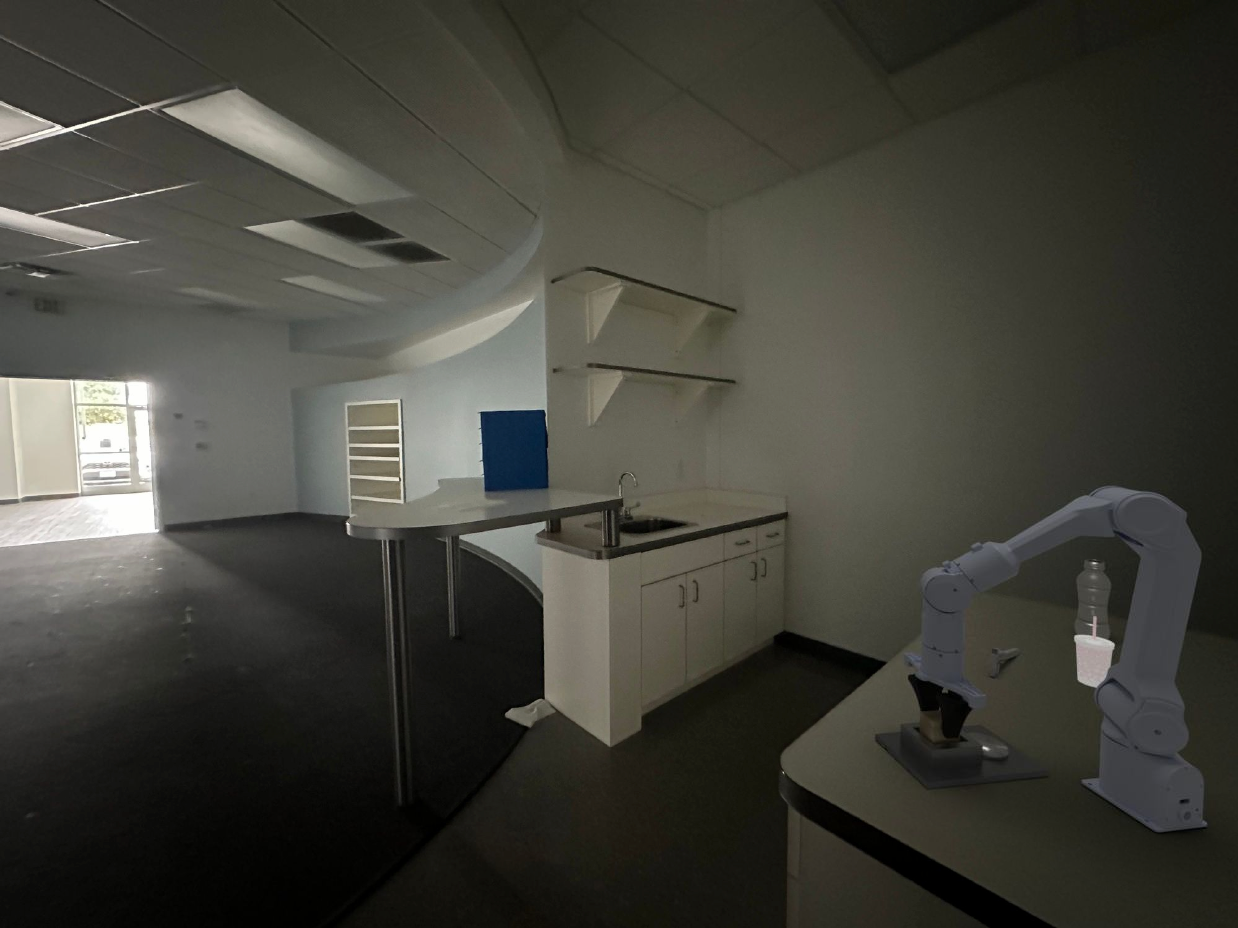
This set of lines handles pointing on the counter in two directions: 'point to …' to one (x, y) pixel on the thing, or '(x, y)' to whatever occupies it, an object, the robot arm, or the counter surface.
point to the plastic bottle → (1093, 600)
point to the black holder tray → (959, 757)
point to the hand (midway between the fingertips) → (940, 728)
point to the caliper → (1000, 659)
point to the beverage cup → (1093, 657)
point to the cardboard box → (934, 728)
